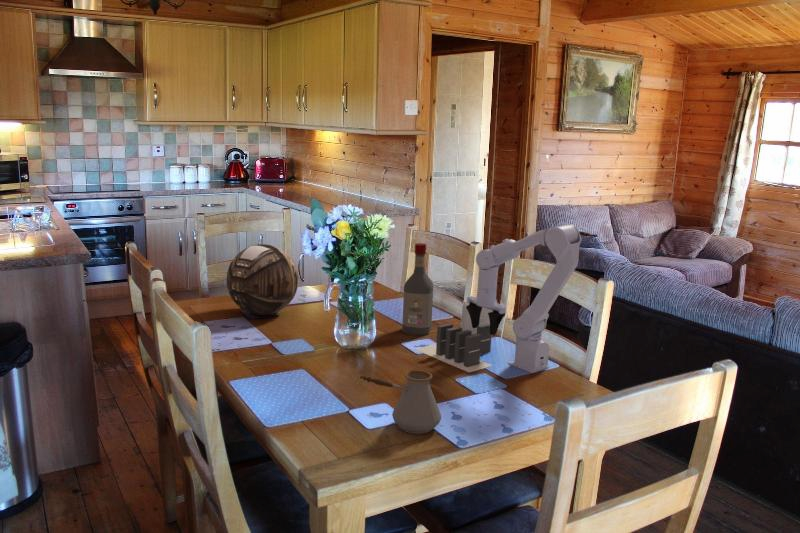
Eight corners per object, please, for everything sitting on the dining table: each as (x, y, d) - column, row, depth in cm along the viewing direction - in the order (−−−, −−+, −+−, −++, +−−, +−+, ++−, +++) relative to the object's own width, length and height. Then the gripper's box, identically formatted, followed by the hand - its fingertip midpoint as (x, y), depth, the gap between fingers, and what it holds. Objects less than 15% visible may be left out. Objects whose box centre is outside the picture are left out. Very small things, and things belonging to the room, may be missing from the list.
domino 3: (469, 360, 209) (471, 331, 207) (457, 363, 206) (459, 334, 204) (466, 358, 211) (467, 329, 209) (454, 361, 207) (455, 332, 205)
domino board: (493, 366, 206) (493, 365, 205) (469, 373, 199) (469, 372, 199) (438, 344, 224) (438, 343, 223) (414, 350, 217) (414, 349, 217)
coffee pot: (424, 413, 172) (426, 355, 168) (450, 431, 162) (453, 370, 159) (345, 429, 161) (346, 367, 158) (368, 450, 151) (370, 385, 148)
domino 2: (460, 356, 212) (462, 327, 210) (448, 359, 209) (450, 330, 207) (456, 354, 214) (458, 326, 212) (444, 357, 210) (446, 329, 208)
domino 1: (451, 352, 215) (453, 324, 213) (439, 355, 212) (441, 327, 210) (447, 351, 217) (449, 323, 215) (435, 354, 213) (437, 325, 211)
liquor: (428, 336, 231) (432, 247, 224) (401, 334, 232) (404, 245, 226) (431, 328, 240) (436, 242, 233) (405, 326, 241) (409, 241, 235)
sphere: (312, 312, 254) (313, 244, 249) (264, 328, 233) (264, 255, 228) (261, 300, 267) (261, 236, 261) (211, 315, 246) (210, 245, 241)
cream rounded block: (488, 332, 238) (491, 297, 236) (492, 336, 234) (494, 300, 232) (459, 332, 237) (461, 297, 234) (462, 336, 233) (464, 300, 230)
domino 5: (490, 352, 218) (492, 324, 216) (479, 355, 215) (480, 327, 213) (486, 351, 219) (488, 323, 217) (475, 354, 216) (477, 326, 214)
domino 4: (479, 364, 206) (481, 334, 204) (467, 367, 203) (469, 337, 201) (475, 362, 208) (477, 333, 206) (463, 365, 204) (465, 336, 202)
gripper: (514, 291, 209) (510, 334, 212) (479, 281, 220) (476, 322, 223) (497, 294, 205) (494, 338, 208) (463, 284, 216) (460, 326, 219)
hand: (484, 330), depth 215 cm, fingers open, 7 cm apart
